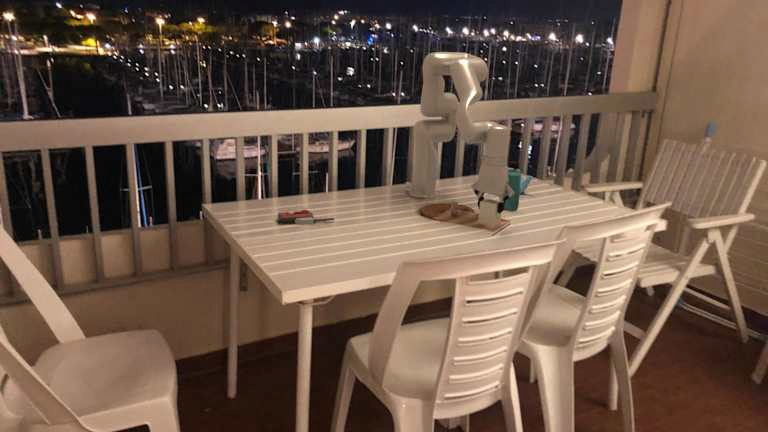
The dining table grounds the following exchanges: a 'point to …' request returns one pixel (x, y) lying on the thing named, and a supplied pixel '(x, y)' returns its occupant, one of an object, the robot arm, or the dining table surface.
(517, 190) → the beverage bottle
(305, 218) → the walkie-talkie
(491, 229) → the board
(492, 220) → the beige upright block
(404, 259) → the dining table surface
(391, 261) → the dining table surface
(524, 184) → the teapot
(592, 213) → the dining table surface
